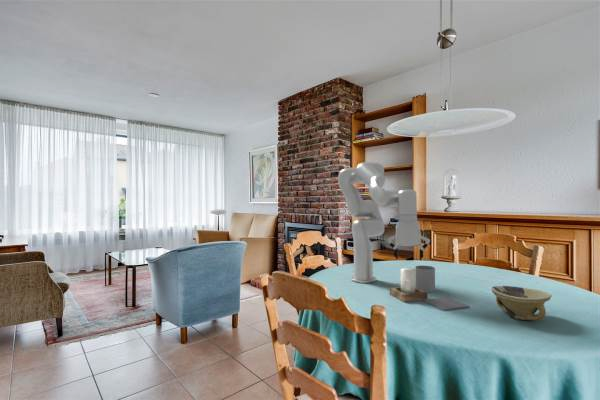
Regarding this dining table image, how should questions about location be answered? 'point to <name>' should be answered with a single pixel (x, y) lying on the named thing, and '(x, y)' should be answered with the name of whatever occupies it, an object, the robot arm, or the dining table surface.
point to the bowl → (521, 302)
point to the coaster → (446, 303)
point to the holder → (408, 295)
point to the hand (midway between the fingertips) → (408, 258)
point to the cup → (425, 278)
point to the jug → (408, 280)
